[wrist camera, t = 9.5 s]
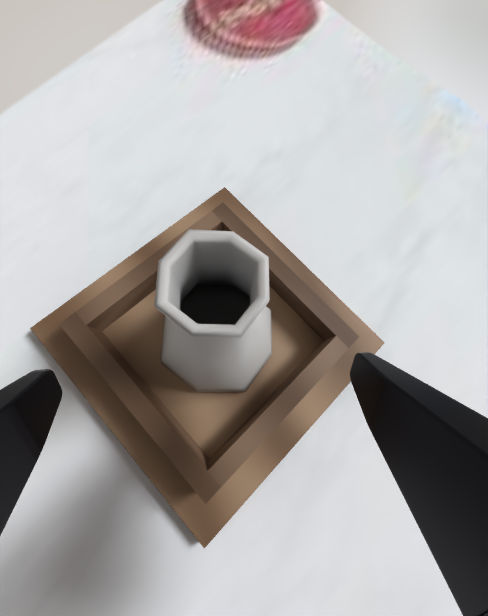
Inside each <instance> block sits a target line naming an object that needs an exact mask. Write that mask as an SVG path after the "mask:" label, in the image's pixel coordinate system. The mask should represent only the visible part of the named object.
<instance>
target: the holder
mask: <svg viewBox="0 0 488 616" xmlns="http://www.w3.org/2000/svg"><path fill="white" fill-rule="evenodd" d="M189 229H192V230H213V231H233V232H235V233H236V234H238V235H239V236H240V237H242V238H243V239H244V240H246V241H247V242H249V243H250V244H251V245H253V246H254V247H255V248H257V249H258V250H260V251H261V252H262V253H264V254H265V255H267V256H268V257H269V297H270V300H269V302H268V303H267V305H266V307H268V308H269V309H270V310H271V320H272V355H271V357H270V358H269V360H268V361H267V362H266V364H265V365H264V367H263V368H262V369H261V371H260V372H259V374H258V375H257V376H256V378H255V379H254V381H253V382H252V383H251V385H250V386H249V388H248V389H247V390H246V392H196V391H195V390H194V389H193V388H191V387H190V386H189V385H188V384H186V383H185V382H184V381H183V380H181V379H180V378H179V377H178V376H176V375H175V374H174V373H173V372H171V371H170V370H169V369H168V368H167V367H165V366H164V365H163V364H162V363H160V362H161V350H162V338H163V327H164V316H165V315H164V314H163V313H161V312H160V311H159V310H157V309H156V308H155V306H154V302H155V292H156V282H157V271H158V261H159V260H160V259H161V258H162V257H163V256H164V255H165V254H166V253H167V252H168V251H169V250H170V248H171V247H172V246H173V245H174V244H175V243H176V242H177V241H178V240H179V239H180V238H181V237H182V236H183V235H184V234H185V233H186V232H187V231H188V230H189ZM30 329H31V330H32V331H33V332H34V334H35V335H36V336H37V337H38V339H39V340H40V341H41V343H42V344H43V345H44V346H45V348H46V349H47V350H48V351H49V353H50V354H51V355H52V356H53V358H54V359H55V360H56V362H57V363H58V364H59V365H60V367H61V368H62V369H63V370H64V372H65V373H66V374H67V375H68V377H69V378H70V379H71V380H72V382H73V383H74V384H75V386H76V387H77V388H78V389H79V391H80V392H81V393H82V394H83V396H84V397H85V398H86V399H87V401H88V402H89V403H90V404H91V406H92V407H93V408H94V410H95V411H96V412H97V413H98V415H99V416H100V417H101V418H102V420H103V421H104V422H105V423H106V425H107V426H108V427H109V428H110V430H111V431H112V432H113V434H114V435H115V436H116V437H117V439H118V440H119V441H120V442H121V444H122V445H123V446H124V447H125V449H126V450H127V451H128V452H129V454H130V455H131V456H132V458H133V459H134V460H135V461H136V463H137V464H138V465H139V466H140V468H141V469H142V470H143V471H144V473H145V474H146V475H147V476H148V478H149V479H150V480H151V482H152V483H153V484H154V485H155V487H156V488H157V489H158V490H159V492H160V493H161V494H162V495H163V497H164V498H165V499H166V501H167V502H168V503H169V504H170V506H171V507H172V508H173V509H174V511H175V512H176V513H177V514H178V516H179V517H180V518H181V519H182V521H183V522H184V523H185V525H186V526H187V527H188V528H189V530H190V531H191V532H192V533H193V535H194V536H195V537H196V538H197V540H198V541H199V542H200V543H201V545H202V546H203V547H204V548H205V547H206V546H207V545H208V544H209V543H210V541H211V540H212V539H213V538H214V537H215V536H216V535H217V533H218V532H219V531H220V530H221V529H222V528H223V527H224V525H225V524H226V523H227V522H228V521H229V520H230V519H231V517H232V516H233V515H234V514H235V513H236V512H237V511H238V509H239V508H240V507H241V506H242V505H243V504H244V503H245V501H246V500H247V499H248V498H249V497H250V496H251V495H252V493H253V492H254V491H255V490H256V489H257V488H258V487H259V485H260V484H261V483H262V482H263V481H264V480H265V479H266V477H267V476H268V475H269V474H270V473H271V472H272V471H273V469H274V468H275V467H276V466H277V465H278V464H279V463H280V461H281V460H282V459H283V458H284V457H285V456H286V455H287V454H288V452H289V451H290V450H291V449H292V448H293V447H294V446H295V444H296V443H297V442H298V441H299V440H300V439H301V438H302V436H303V435H304V434H305V433H306V432H307V431H308V430H309V428H310V427H311V426H312V425H313V424H314V423H315V422H316V420H317V419H318V418H319V417H320V416H321V415H322V414H323V412H324V411H325V410H326V409H327V408H328V407H329V406H330V404H331V403H332V402H333V401H334V400H335V399H336V398H337V396H338V395H339V394H340V393H341V392H342V391H343V390H344V388H345V387H346V386H347V385H348V384H349V383H350V382H351V379H350V370H351V366H352V363H353V360H354V356H355V354H356V353H359V352H370V353H372V354H375V353H376V352H377V351H378V350H379V349H380V347H381V346H382V345H383V344H384V342H383V341H382V340H381V339H380V338H379V337H378V336H377V335H376V334H375V333H374V332H373V331H372V330H371V329H370V328H369V327H368V326H367V325H366V324H365V323H364V322H363V321H362V320H361V319H360V318H359V317H358V316H357V315H356V314H355V313H353V312H352V311H351V310H350V309H349V308H348V307H347V306H346V305H345V304H344V303H343V302H342V301H341V300H340V299H339V298H338V297H337V296H336V295H335V294H334V293H333V292H332V291H331V290H330V289H329V288H328V287H327V286H326V285H325V284H324V283H323V282H322V281H321V280H320V279H318V278H317V277H316V276H315V275H314V274H313V273H312V272H311V271H310V270H309V269H308V268H307V267H306V266H305V265H304V264H303V263H302V262H301V261H300V260H299V259H298V258H297V257H296V256H295V255H294V254H293V253H292V252H291V251H290V250H289V249H288V248H287V247H286V246H285V245H284V244H282V243H281V242H280V241H279V240H278V239H277V238H276V237H275V236H274V235H273V234H272V233H271V232H270V231H269V230H268V229H267V228H266V227H265V226H264V225H263V224H262V223H261V222H260V221H259V220H258V219H257V218H256V217H255V216H254V215H253V214H252V213H251V212H250V211H249V210H247V209H246V208H245V207H244V206H243V205H242V204H241V203H240V202H239V201H238V200H237V199H236V198H235V197H234V196H233V195H232V194H231V193H230V192H229V191H228V190H227V189H226V188H225V187H224V188H223V189H222V190H220V191H219V192H218V193H216V194H215V195H213V196H212V197H211V198H209V199H208V200H207V201H205V202H204V203H202V204H201V205H200V206H198V207H197V208H195V209H194V210H193V211H191V212H190V213H189V214H187V215H186V216H184V217H183V218H182V219H180V220H179V221H178V222H176V223H175V224H173V225H172V226H171V227H169V228H168V229H167V230H165V231H164V232H162V233H161V234H160V235H158V236H157V237H156V238H154V239H153V240H151V241H150V242H149V243H147V244H146V245H144V246H143V247H142V248H140V249H139V250H138V251H136V252H135V253H133V254H132V255H131V256H129V257H128V258H127V259H125V260H124V261H122V262H121V263H120V264H118V265H117V266H116V267H114V268H113V269H111V270H110V271H109V272H107V273H106V274H105V275H103V276H102V277H100V278H99V279H98V280H96V281H95V282H93V283H92V284H91V285H89V286H88V287H87V288H85V289H84V290H82V291H81V292H80V293H78V294H77V295H76V296H74V297H73V298H71V299H70V300H69V301H67V302H66V303H65V304H63V305H62V306H60V307H59V308H58V309H56V310H55V311H54V312H52V313H51V314H49V315H48V316H47V317H45V318H44V319H42V320H41V321H40V322H38V323H37V324H36V325H34V326H33V327H31V328H30Z"/></svg>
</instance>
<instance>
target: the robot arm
mask: <svg viewBox="0 0 488 616" xmlns="http://www.w3.org/2000/svg"><path fill="white" fill-rule="evenodd" d="M350 379H351V382H352V385H353V387H354V390H355V393H356V395H357V398H358V401H359V403H360V406H361V409H362V411H363V414H364V416H365V419H366V421H367V424H368V426H369V428H370V430H371V432H372V434H373V436H374V438H375V440H376V442H377V444H378V446H379V448H380V450H381V452H382V454H383V456H384V458H385V460H386V462H387V464H388V466H389V468H390V470H391V472H392V474H393V476H394V478H395V480H396V482H397V484H398V486H399V488H400V490H401V492H402V494H403V496H404V498H405V500H406V502H407V504H408V506H409V508H410V510H411V512H412V514H413V516H414V518H415V520H416V522H417V524H418V526H419V528H420V530H421V532H422V534H423V536H424V538H425V540H426V542H427V544H428V546H429V548H430V550H431V552H432V554H433V556H434V558H435V560H436V562H437V564H438V566H439V568H440V570H441V572H442V574H443V576H444V578H445V580H446V582H447V584H448V586H449V588H450V590H451V592H452V594H453V596H454V598H455V600H456V602H457V604H458V606H459V608H460V610H461V612H462V614H463V616H488V418H486V417H484V416H483V415H481V414H479V413H477V412H476V411H474V410H472V409H470V408H468V407H467V406H465V405H463V404H461V403H460V402H458V401H456V400H454V399H452V398H451V397H449V396H447V395H445V394H444V393H442V392H440V391H438V390H436V389H435V388H433V387H431V386H429V385H428V384H426V383H424V382H422V381H420V380H419V379H417V378H415V377H413V376H411V375H410V374H408V373H406V372H404V371H403V370H401V369H399V368H397V367H395V366H394V365H392V364H390V363H388V362H387V361H385V360H383V359H381V358H379V357H378V356H376V355H374V354H372V353H370V352H359V353H356V354H355V356H354V360H353V363H352V366H351V370H350ZM61 398H62V389H61V387H60V385H59V382H58V380H57V378H56V376H55V374H54V372H53V371H52V370H49V369H45V370H34V371H32V372H30V373H28V374H27V375H25V376H23V377H21V378H20V379H18V380H16V381H15V382H13V383H11V384H9V385H8V386H6V387H4V388H3V389H1V390H0V535H1V533H2V531H3V529H4V527H5V525H6V523H7V521H8V519H9V517H10V515H11V513H12V511H13V509H14V507H15V505H16V503H17V501H18V499H19V497H20V495H21V492H22V490H23V488H24V486H25V484H26V482H27V480H28V478H29V476H30V474H31V472H32V470H33V468H34V466H35V464H36V462H37V460H38V458H39V456H40V453H41V451H42V449H43V446H44V444H45V441H46V439H47V436H48V433H49V431H50V428H51V425H52V423H53V420H54V417H55V415H56V412H57V409H58V406H59V404H60V401H61Z"/></svg>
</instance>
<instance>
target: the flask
mask: <svg viewBox="0 0 488 616" xmlns="http://www.w3.org/2000/svg"><path fill="white" fill-rule="evenodd" d="M269 300H270V297H269V257H268V256H267V255H265V254H264V253H262V252H261V251H260V250H258V249H257V248H255V247H254V246H253V245H251V244H250V243H249V242H247V241H246V240H244V239H243V238H242V237H240V236H239V235H238V234H236V233H235V232H233V231H213V230H192V229H189V230H188V231H187V232H186V233H185V234H184V235H183V236H182V237H181V238H180V239H179V240H178V241H177V242H176V243H175V244H174V245H173V246H172V247H171V248H170V250H169V251H168V252H167V253H166V254H165V255H164V256H163V257H162V258H161V259H160V260H159V261H158V271H157V282H156V292H155V302H154V306H155V308H156V309H157V310H159V311H160V312H161V313H163V314H164V315H165V316H164V327H163V338H162V350H161V362H160V363H162V364H163V365H164V366H165V367H167V368H168V369H169V370H170V371H171V372H173V373H174V374H175V375H176V376H178V377H179V378H180V379H181V380H183V381H184V382H185V383H186V384H188V385H189V386H190V387H191V388H193V389H194V390H195V391H196V392H246V390H247V389H248V388H249V386H250V385H251V383H252V382H253V381H254V379H255V378H256V376H257V375H258V374H259V372H260V371H261V369H262V368H263V367H264V365H265V364H266V362H267V361H268V360H269V358H270V357H271V355H272V320H271V310H270V309H269V308H268V307H266V305H267V303H268V302H269Z"/></svg>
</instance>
